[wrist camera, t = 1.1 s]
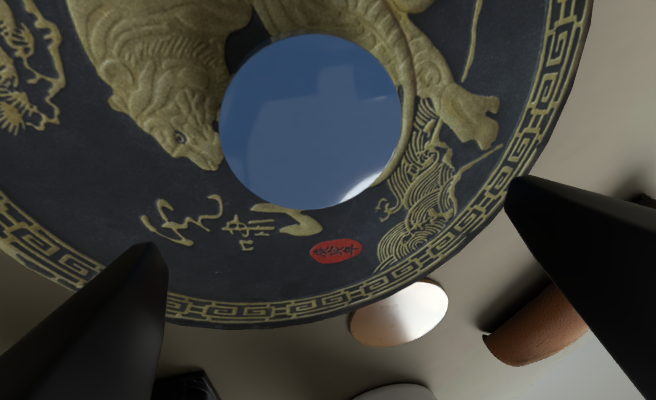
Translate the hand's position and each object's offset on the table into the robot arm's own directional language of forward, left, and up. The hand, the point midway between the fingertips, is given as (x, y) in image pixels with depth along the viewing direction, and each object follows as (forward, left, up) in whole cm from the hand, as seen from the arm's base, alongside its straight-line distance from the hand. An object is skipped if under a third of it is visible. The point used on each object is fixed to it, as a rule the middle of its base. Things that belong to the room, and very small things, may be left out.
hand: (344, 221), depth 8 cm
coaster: (-19, -6, -10) cm, 22 cm away
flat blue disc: (0, 0, -8) cm, 8 cm away
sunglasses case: (-19, -23, -10) cm, 31 cm away
